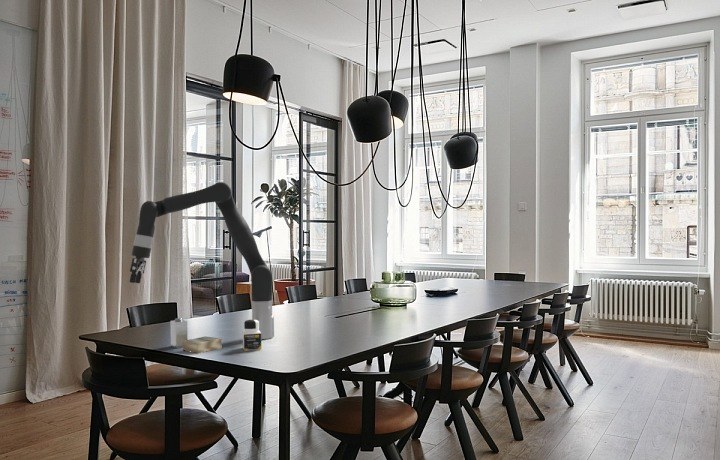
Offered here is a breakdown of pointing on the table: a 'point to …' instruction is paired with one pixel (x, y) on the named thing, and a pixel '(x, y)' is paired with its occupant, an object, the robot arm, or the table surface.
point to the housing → (178, 332)
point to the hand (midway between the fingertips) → (134, 282)
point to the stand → (202, 344)
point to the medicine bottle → (251, 335)
